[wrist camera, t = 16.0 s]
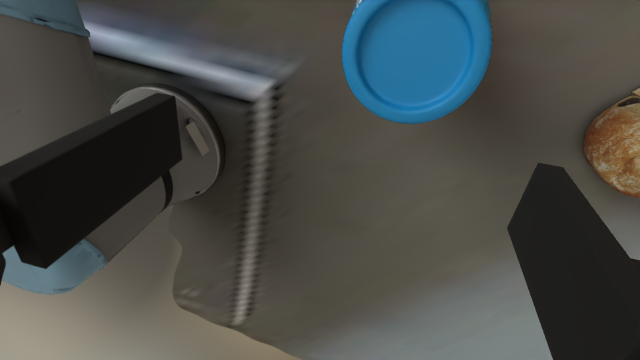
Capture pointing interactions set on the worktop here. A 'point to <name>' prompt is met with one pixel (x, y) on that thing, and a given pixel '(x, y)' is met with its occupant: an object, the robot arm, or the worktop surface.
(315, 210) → the worktop surface
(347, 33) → the beverage bottle
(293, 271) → the worktop surface
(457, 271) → the worktop surface
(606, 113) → the bread roll
